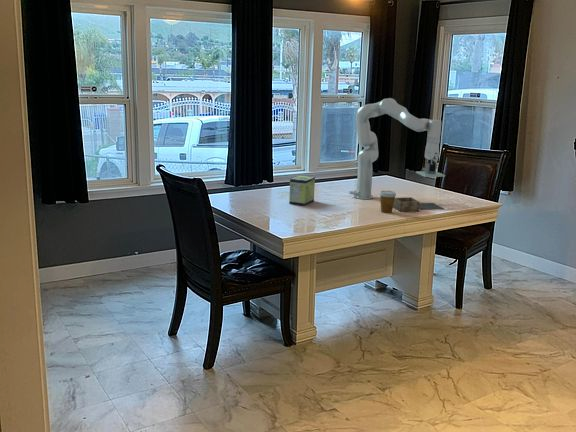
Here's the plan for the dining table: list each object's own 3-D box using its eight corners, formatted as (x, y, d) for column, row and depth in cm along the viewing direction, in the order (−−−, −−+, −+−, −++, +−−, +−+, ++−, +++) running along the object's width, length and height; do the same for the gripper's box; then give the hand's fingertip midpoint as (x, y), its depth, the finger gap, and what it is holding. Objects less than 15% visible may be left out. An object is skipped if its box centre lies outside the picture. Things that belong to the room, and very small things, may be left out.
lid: (424, 176, 351) (425, 165, 349) (415, 172, 363) (416, 161, 362) (444, 176, 354) (446, 165, 352) (435, 172, 366) (436, 161, 364)
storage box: (399, 212, 348) (400, 202, 346) (392, 207, 359) (393, 197, 358) (418, 211, 350) (419, 201, 349) (410, 206, 361) (411, 197, 360)
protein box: (314, 201, 369) (315, 176, 365) (304, 206, 355) (305, 180, 352) (299, 199, 373) (299, 175, 369) (288, 203, 360) (289, 179, 356)
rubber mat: (421, 209, 355) (421, 209, 355) (411, 203, 369) (411, 203, 369) (443, 209, 358) (444, 208, 358) (433, 203, 372) (433, 202, 372)
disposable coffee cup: (396, 211, 349) (397, 191, 346) (392, 214, 341) (393, 194, 338) (380, 209, 353) (382, 189, 350) (376, 212, 345) (377, 192, 342)
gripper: (421, 138, 361) (419, 168, 365) (433, 142, 345) (430, 173, 349) (433, 138, 362) (430, 168, 367) (445, 142, 346) (442, 173, 351)
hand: (430, 170), depth 358 cm, fingers closed on lid, 4 cm apart
